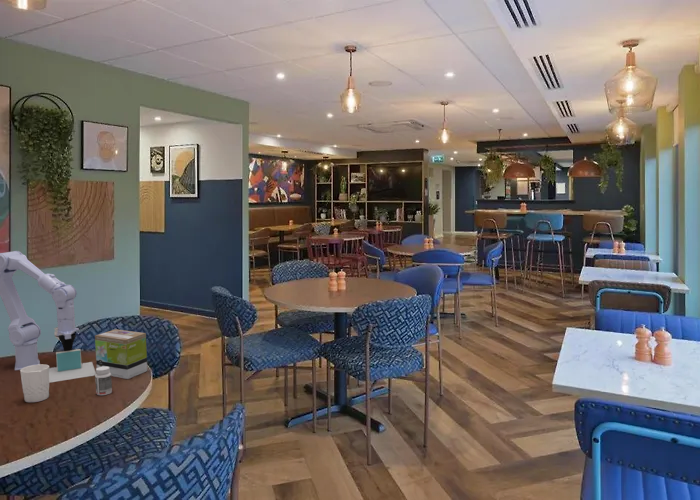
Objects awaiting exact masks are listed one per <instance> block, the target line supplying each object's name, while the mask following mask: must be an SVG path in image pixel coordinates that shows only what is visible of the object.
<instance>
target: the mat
mask: <svg viewBox="0 0 700 500" xmlns="http://www.w3.org/2000/svg"><path fill="white" fill-rule="evenodd" d="M81 365H82V368H79V369H73V370H66V371H60V372H57V366H56V367H55V366H53V367H49V384H50V383H55V382H56V383H57V382H62V381H67V380H73V379H74V380H75V379H80V378H88V377H95V375H96V368H95V366H94V364H93V361H89V362H81Z"/></svg>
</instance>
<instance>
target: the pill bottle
mask: <svg viewBox="0 0 700 500" xmlns="http://www.w3.org/2000/svg"><path fill="white" fill-rule="evenodd" d="M95 372H96V375H95V376H94V377H95V378H94V379H95V392H96V395H97V396H106V395H110V394H112V393H113V383H112V382H113V381H112V376H111V373H110V369H109V367H107V366H104V367H99V368H97V367H96V368H95Z"/></svg>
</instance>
